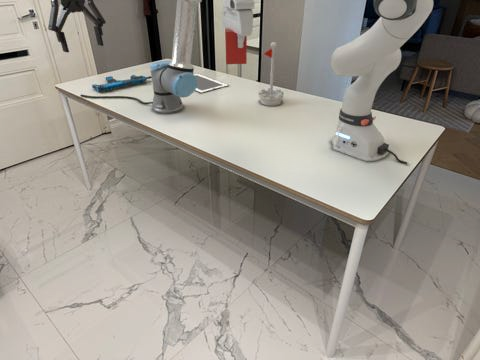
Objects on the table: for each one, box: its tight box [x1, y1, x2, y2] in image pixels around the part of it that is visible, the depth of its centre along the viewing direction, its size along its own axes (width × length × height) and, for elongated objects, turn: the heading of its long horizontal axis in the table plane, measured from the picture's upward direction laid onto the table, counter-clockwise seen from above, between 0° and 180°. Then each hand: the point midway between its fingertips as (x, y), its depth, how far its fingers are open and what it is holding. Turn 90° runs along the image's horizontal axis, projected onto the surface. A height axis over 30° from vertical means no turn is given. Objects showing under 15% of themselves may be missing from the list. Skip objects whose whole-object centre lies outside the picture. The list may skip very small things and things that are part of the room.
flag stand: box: [258, 41, 285, 107], centre depth 172 cm, size 13×13×30 cm
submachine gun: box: [91, 74, 152, 93], centre depth 206 cm, size 34×4×25 cm
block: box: [224, 28, 248, 65], centre depth 118 cm, size 5×7×11 cm
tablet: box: [193, 73, 229, 94], centre depth 207 cm, size 32×20×1 cm, turn 41°
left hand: (84, 48), depth 124 cm, fingers open, 13 cm apart
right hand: (236, 45), depth 118 cm, fingers closed on block, 6 cm apart
